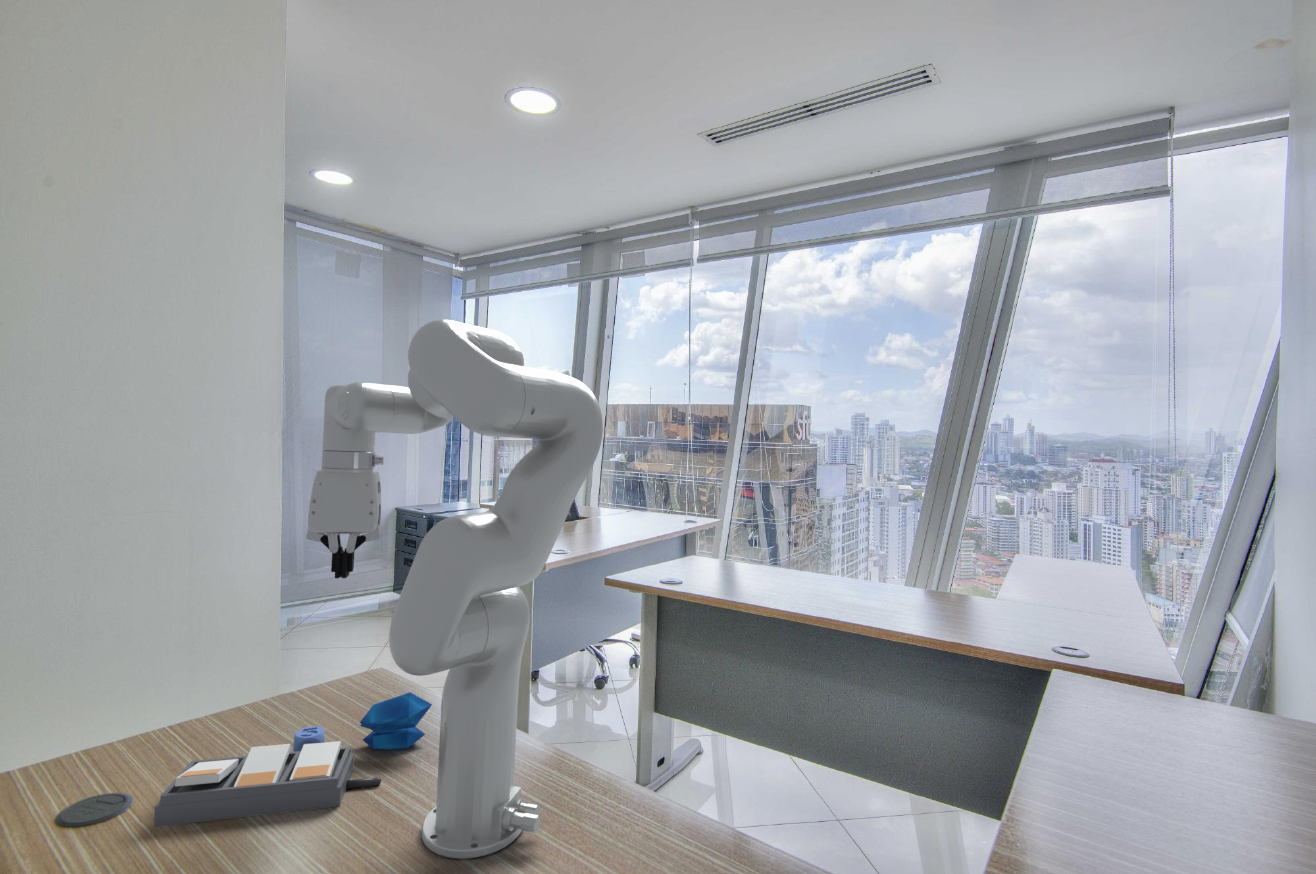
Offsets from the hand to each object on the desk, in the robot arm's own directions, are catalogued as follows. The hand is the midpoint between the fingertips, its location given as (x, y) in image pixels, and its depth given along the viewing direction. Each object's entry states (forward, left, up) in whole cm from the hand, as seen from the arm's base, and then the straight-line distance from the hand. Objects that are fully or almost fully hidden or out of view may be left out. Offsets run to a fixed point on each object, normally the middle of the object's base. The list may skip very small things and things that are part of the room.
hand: (342, 576), depth 99 cm
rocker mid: (-1, +15, -24) cm, 28 cm away
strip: (-3, +13, -27) cm, 30 cm away
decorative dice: (+1, +4, -27) cm, 28 cm away
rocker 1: (+4, +18, -24) cm, 30 cm away
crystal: (-9, -3, -27) cm, 29 cm away
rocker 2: (-7, +11, -24) cm, 27 cm away
